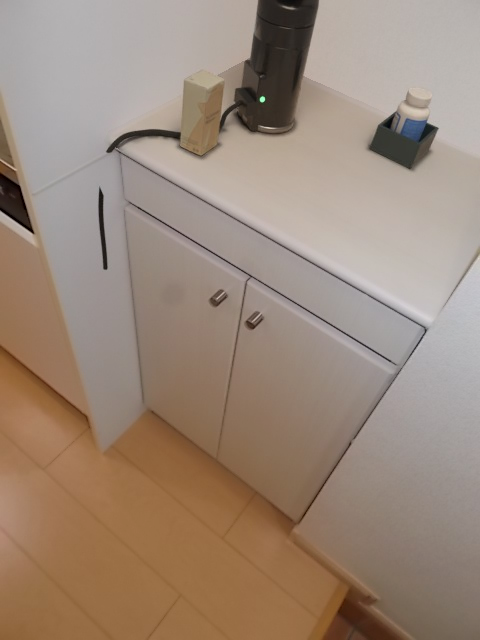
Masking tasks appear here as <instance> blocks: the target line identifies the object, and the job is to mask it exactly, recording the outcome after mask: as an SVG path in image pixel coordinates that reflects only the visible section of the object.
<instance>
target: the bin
mask: <svg viewBox="0 0 480 640" xmlns="http://www.w3.org/2000/svg"><path fill="white" fill-rule="evenodd" d="M395 113H396V111H394V112H393V113H392V114H391V115H389V116H388V117H386V118H385V119H384V120H383V121H382V122H380V123H379V124H377V127H376V129H375V133H374V135H373V138H372V141H371V144H370V146H369V150H371V151H373V152H374V153H376V154H379V155H380V156H383V157H385V158H387V159H389V160H391V161H393V162H395V163H398V164H399V165H402V166H404V167H406V168H408V169H412V168H413V167H414V166H415V165H416V164H417V163H419V161H420V160H421V159H422V158H423V157H424V156H425V155H426V154H427V153H428V152H429V151H430V148H431V146H432V145H433V142H434V140H435V138H436V135H437V133H438V131H439V129H440V128H439V127H438V126H436V125H434V124H431V123H429V122H427V123H426V125H425V128H424V130H423V132H422V135H421V137H420V140H419V142H416V141H414V140H412V139H410V138H408V137H406V136H404V135H402V134H399V133H397V132H395V131H393V130H391V129H390V127H391V125H392V122H393V119H394V116H395Z"/></svg>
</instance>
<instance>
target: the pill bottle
mask: <svg viewBox="0 0 480 640" xmlns="http://www.w3.org/2000/svg"><path fill="white" fill-rule="evenodd" d="M432 98H433V93H432V92H431V91H429V90H428V89H425V88H423V87H417V86H413V87H410V88H408V90H407V92H406V95H405V99H404V100H401V101H400V102H399V104H398V105H397V108H396V111H395V112H396V113H395V116H394V119H393V122H392V125H391V127H390V129H391V130H393V131H395V132H397V133H399V134H402V135H404V136H406V137H408V138H410V139H412V140H414V141H416V142H419V140H420V137H421V135H422V132H423V130H424V128H425V125H426V123H428V120H429V117H430V115H431V109H430V107H429V106H430V104H431V101H432Z"/></svg>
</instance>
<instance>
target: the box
mask: <svg viewBox="0 0 480 640" xmlns="http://www.w3.org/2000/svg"><path fill="white" fill-rule="evenodd" d="M225 81H226V80H225V78H223V77H222V76H219V75H217V74H214V73H213V72H210V71H208V70H205V69H200V70H199V71H196V72H195V73H192V74H191V75H189V76H187V77H186V78H184V79H183V87H182V89H183V90H182V107H181V124H180V125H181V126H180V132H181V138H180V140H179V141H180V142H179V146H180V147H181V148H183V149H186V151H189V152H190V153H194V154H196V155H198V156H203V155H205V154H206V153H208V152H210V150H212V149H213V148H215V147H216V146H218V142H219V135H220V129H219V126H220V120H221V117H222V108H223V98H224V89H225Z"/></svg>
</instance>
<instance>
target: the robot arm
mask: <svg viewBox="0 0 480 640" xmlns="http://www.w3.org/2000/svg"><path fill="white" fill-rule="evenodd" d="M319 6H320V0H257V5H256V14H255V20H254V27H253V34H252V40H251V50H250V55H249V59H246V60H244V63H243V72H242V78H241V86H240V87H236V88H234V96H233V102H234V103H233V104H231V105H230V106H229V107H227V108H226V109H225V110H224V111H223V113H222V114H221V117H220V126H219V130H221V129H222V128H223V127H224V126H225V123H226V121H227V117H228V116H229V115H230V114H231V113H232V112H233V111H234V110H236V109H238V110H237V114H238V116H239V117H240V119H242V121H243V122H244V124H245V125H246V126H247V128H249V130H250V131H251V132H256V131H257V132H262V133H265V134H266V133H267V134H281V133H286V132H288V131H290V130H291V129H292V128H293V126H294V124H295V117H296V112H297V106H298V101H299V97H300V93H301V90H302V89H301V88H302V85H303V78H304V75H305V71H306V65H307V61H308V57H309V52H310V47H311V43H312V39H313V34H314V30H315V26H316V21H317V16H318V12H319ZM149 135H160V136H167V137H172V138H180V139H181V131H172V130H169V129H168V130H167V129H160V128H148V129H140V130H139V129H138V130H132V131H128V132H125V133H123V134H121V135H119V136H118V137H117V138H116V139H115V140H113V142H112V143H111V144H110V145H109V146H108V148H107V149H106V150H105V153H107V154H111V153H113V151H114V150H115V149H116V148H117V147H118V146H119V145H120V144H121V143H122V142H124V141H125V140H127V139H130V138H135V137H141V136H149ZM104 198H105V195H104V193H103V191H102V189H101V186H99V187H98V201H97V203H98V204H97V209H98V212H97V213H98V214H97V215H98V227H99V228H98V229H99V237H100V245H101V255H102V256H101V257H102V270H103V271H107V270H108V269H109V268H108V267H109V266H108V251H107V241H106V232H105V230H106V229H105V220H104V219H105V218H104V217H105V215H104V200H105V199H104Z"/></svg>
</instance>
